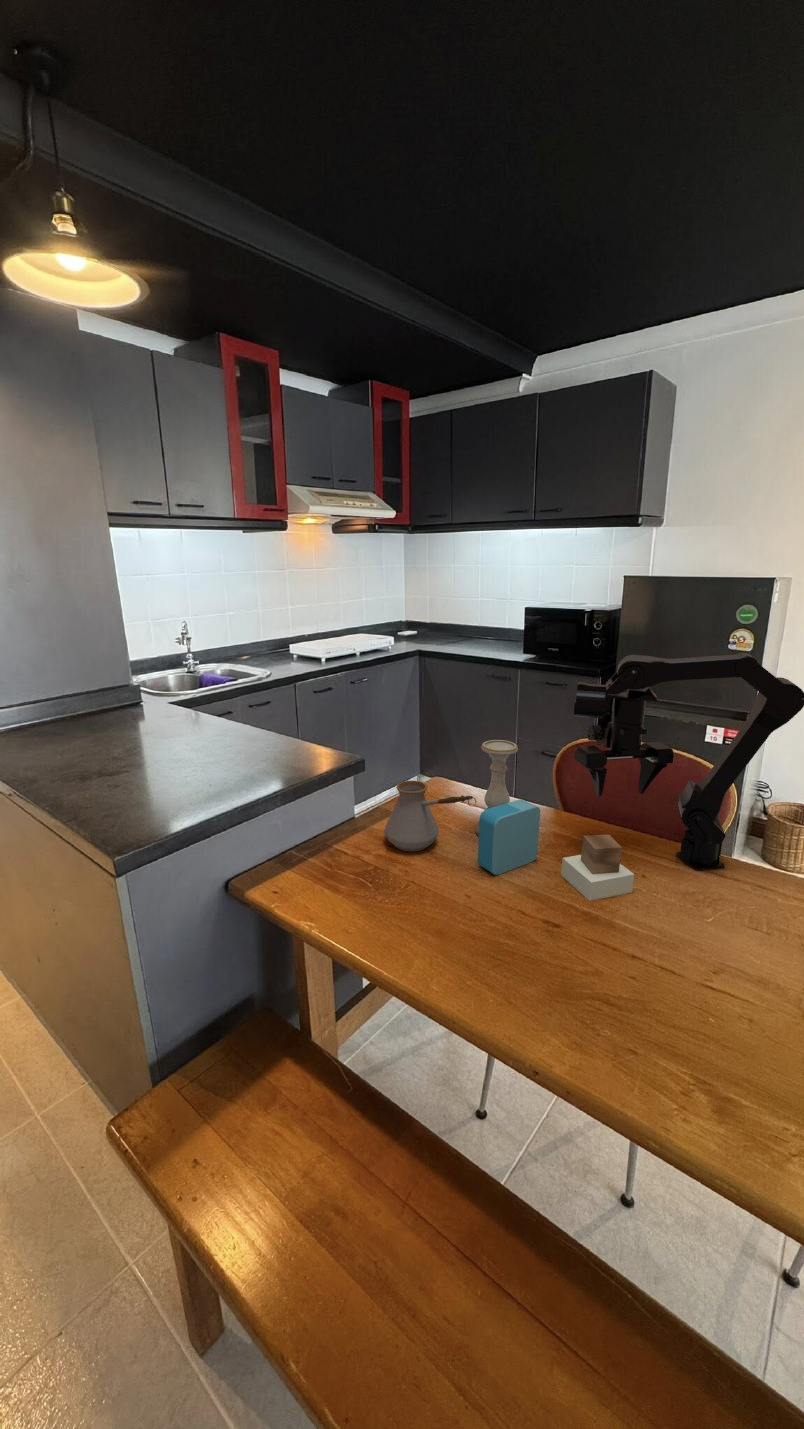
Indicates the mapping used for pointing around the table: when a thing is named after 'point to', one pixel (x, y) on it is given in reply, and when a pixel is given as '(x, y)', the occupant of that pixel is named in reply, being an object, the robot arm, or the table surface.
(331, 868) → the table surface
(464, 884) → the table surface
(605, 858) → the walnut cube
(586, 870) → the base block
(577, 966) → the table surface
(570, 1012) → the table surface
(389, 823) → the coffee pot
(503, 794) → the candle holder
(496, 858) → the blue rounded slab
